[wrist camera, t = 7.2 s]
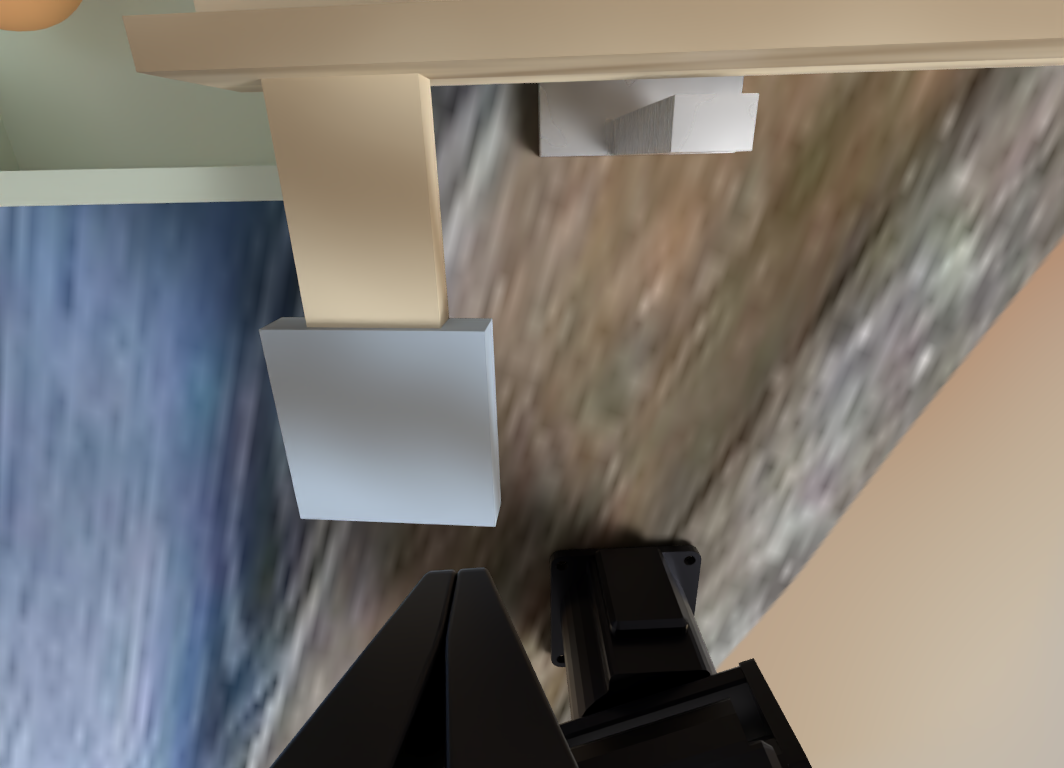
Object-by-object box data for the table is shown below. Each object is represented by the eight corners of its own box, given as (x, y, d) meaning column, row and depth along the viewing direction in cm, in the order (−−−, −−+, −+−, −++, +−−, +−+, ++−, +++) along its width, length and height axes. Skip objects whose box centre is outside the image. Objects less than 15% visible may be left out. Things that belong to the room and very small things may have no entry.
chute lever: (952, 442, 17) (1135, 584, 11) (357, 428, 18) (260, 543, 13) (1213, -372, 10) (1980, -1020, 5) (244, -277, 12) (-56, -662, 6)
